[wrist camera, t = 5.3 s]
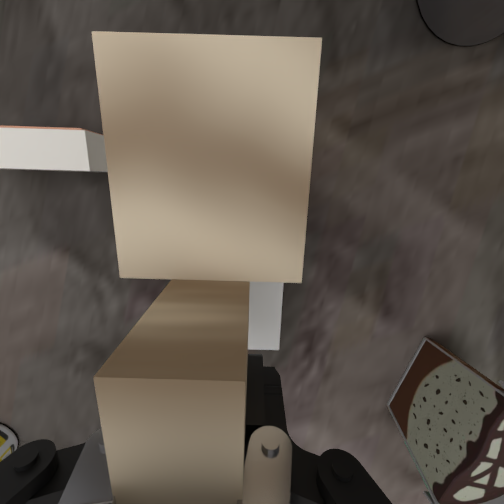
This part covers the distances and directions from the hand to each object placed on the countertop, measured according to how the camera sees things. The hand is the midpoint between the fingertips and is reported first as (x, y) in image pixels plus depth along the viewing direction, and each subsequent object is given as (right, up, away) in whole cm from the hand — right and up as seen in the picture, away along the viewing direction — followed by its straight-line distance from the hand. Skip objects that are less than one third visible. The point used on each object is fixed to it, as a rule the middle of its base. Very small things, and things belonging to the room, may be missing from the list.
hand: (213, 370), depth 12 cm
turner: (0, +2, 0) cm, 3 cm away
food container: (+21, -9, +18) cm, 29 cm away
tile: (-13, +13, +12) cm, 22 cm away
